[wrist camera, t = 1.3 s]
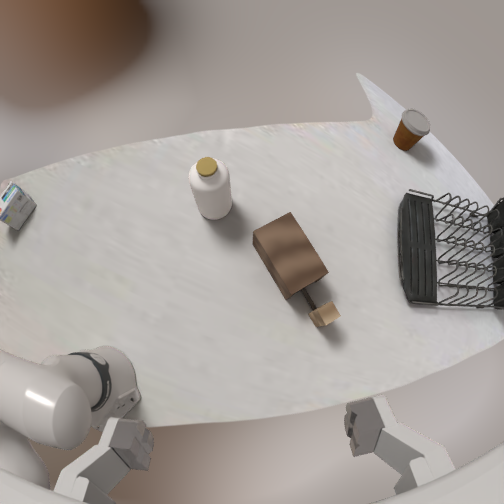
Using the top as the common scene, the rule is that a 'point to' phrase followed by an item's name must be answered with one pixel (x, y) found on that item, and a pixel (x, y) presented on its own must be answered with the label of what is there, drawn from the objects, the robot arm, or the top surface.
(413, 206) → the dish rack
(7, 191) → the light bulb box
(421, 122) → the disposable coffee cup
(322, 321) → the tethered block
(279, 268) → the cubby
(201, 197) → the potion bottle
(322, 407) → the top surface
